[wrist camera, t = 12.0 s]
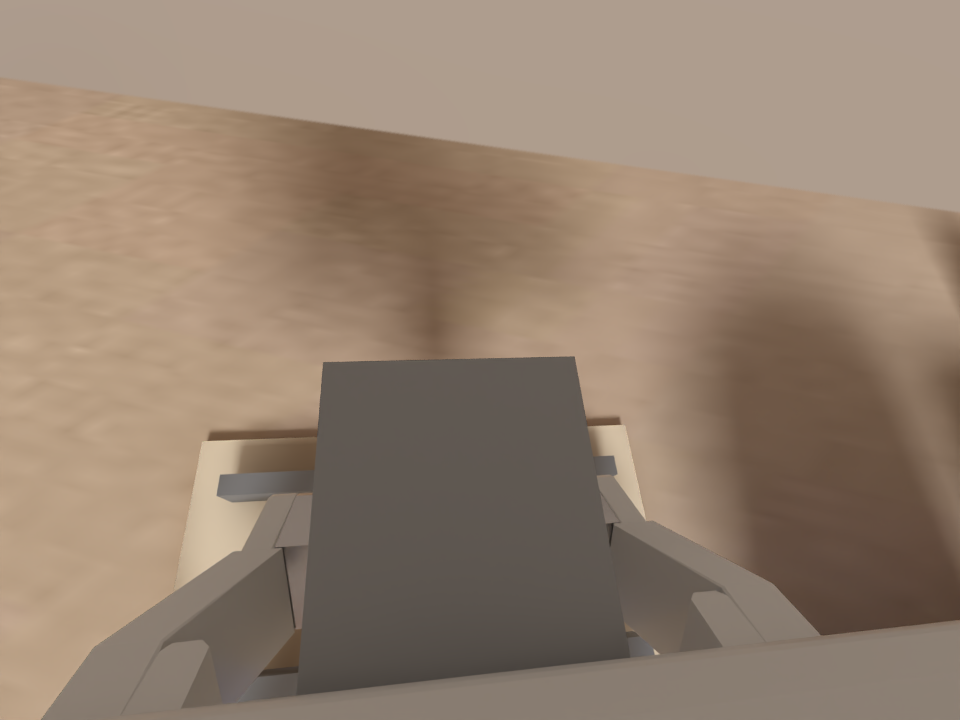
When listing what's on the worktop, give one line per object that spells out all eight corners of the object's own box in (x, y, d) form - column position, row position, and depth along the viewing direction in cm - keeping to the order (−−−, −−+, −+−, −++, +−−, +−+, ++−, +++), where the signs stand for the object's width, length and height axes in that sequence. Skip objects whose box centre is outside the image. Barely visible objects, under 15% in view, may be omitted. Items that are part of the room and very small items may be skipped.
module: (375, 658, 13) (289, 787, 5) (378, 480, 15) (323, 361, 7) (513, 644, 13) (645, 738, 5) (497, 473, 16) (574, 356, 7)
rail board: (145, 773, 19) (106, 800, 17) (207, 444, 25) (185, 430, 23) (681, 703, 22) (711, 718, 20) (621, 427, 28) (639, 413, 26)
